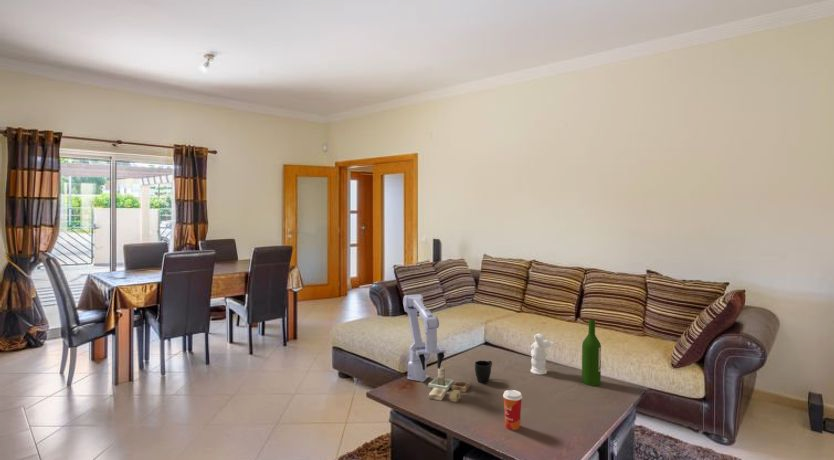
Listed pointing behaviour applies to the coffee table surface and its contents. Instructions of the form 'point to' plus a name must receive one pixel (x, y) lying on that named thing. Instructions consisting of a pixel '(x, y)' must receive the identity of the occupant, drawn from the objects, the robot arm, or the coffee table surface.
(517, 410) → the paper cup
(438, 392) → the beige rectangular box
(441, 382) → the dowel
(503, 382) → the coffee table surface
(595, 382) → the wine bottle
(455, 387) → the socket block
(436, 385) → the tray
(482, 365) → the mug
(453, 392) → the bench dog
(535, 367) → the cherub figurine
